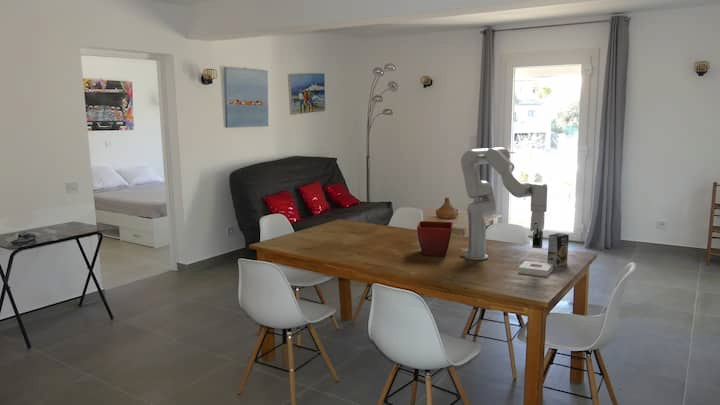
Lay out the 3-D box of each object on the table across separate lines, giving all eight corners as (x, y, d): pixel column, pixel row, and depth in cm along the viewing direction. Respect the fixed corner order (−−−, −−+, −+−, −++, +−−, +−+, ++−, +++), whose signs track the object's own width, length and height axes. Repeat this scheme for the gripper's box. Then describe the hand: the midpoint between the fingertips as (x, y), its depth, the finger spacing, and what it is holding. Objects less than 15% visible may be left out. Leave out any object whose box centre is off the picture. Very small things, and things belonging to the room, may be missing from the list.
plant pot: (450, 258, 308) (451, 228, 306) (416, 256, 312) (416, 227, 309) (452, 250, 327) (452, 222, 324) (419, 248, 330) (420, 221, 328)
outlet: (518, 272, 278) (518, 267, 278) (524, 266, 290) (525, 260, 290) (547, 276, 271) (547, 270, 271) (552, 269, 283) (553, 264, 283)
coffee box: (557, 267, 289) (559, 236, 286) (546, 264, 294) (548, 234, 291) (567, 264, 294) (569, 234, 291) (557, 262, 299) (558, 232, 297)
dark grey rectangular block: (532, 247, 278) (532, 232, 277) (534, 246, 282) (534, 230, 280) (540, 248, 276) (541, 232, 275) (542, 246, 280) (542, 231, 278)
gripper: (534, 205, 285) (533, 240, 288) (526, 210, 271) (525, 246, 273) (549, 206, 281) (548, 241, 284) (542, 211, 267) (541, 248, 270)
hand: (537, 243), depth 279 cm, fingers closed on dark grey rectangular block, 4 cm apart
